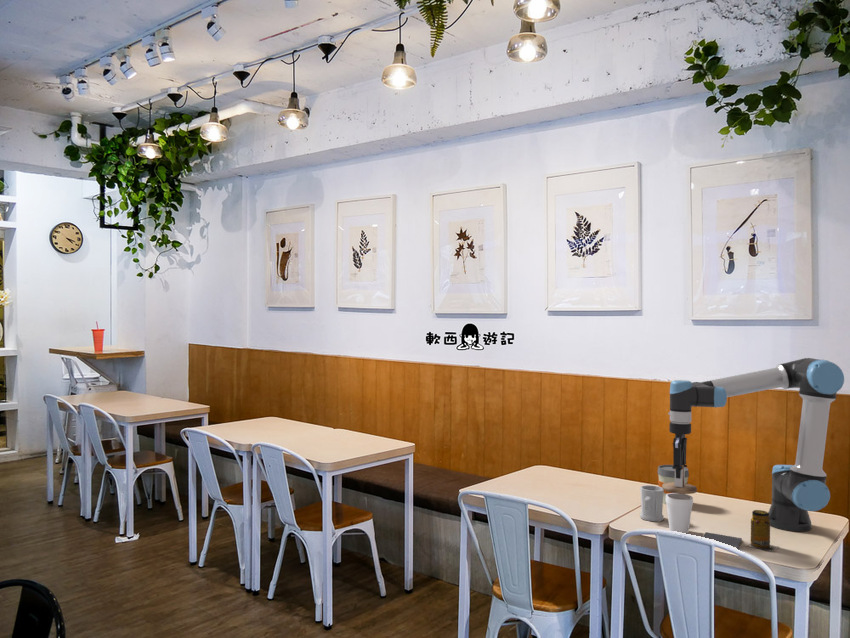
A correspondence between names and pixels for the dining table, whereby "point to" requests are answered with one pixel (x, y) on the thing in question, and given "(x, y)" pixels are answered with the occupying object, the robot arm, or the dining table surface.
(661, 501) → the cup
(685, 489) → the lid
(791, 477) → the robot arm
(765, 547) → the condiment
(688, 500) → the foam cup
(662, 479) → the reusable coffee cup
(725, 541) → the mat
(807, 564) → the dining table surface
